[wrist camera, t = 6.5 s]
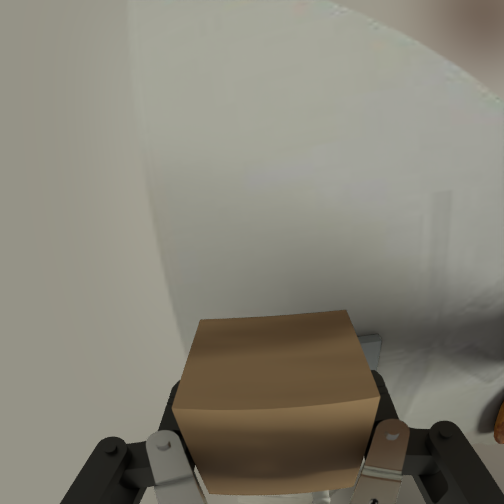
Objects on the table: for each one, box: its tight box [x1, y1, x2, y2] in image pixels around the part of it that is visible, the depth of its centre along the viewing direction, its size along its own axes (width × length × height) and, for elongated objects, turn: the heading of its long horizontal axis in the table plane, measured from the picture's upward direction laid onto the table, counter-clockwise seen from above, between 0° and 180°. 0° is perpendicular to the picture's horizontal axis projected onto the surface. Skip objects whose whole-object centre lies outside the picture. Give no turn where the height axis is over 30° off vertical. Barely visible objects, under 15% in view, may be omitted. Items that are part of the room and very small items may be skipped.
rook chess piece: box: [312, 490, 331, 504], centre depth 36 cm, size 4×4×8 cm
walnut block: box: [172, 310, 380, 495], centre depth 11 cm, size 6×6×5 cm
